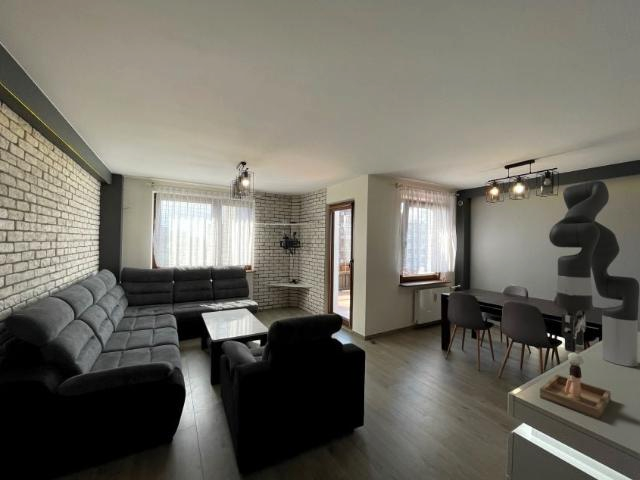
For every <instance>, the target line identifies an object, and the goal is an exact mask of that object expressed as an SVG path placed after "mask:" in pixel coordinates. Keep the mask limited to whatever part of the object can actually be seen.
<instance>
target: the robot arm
mask: <svg viewBox="0 0 640 480" xmlns="http://www.w3.org/2000/svg"><path fill="white" fill-rule="evenodd" d="M609 194H610V193H609V189H608V187H607V185H606V183H605V182H604V181H601V180H594V181H588V182H584V183H579V184H575V185H574V184H573V185H570V186H567V187H566V188H564V190H563V191H562V196H563V201H564V203H565V205H566V208H567V210H568V211H566V213H565V216H564V218H562V219H561V220H559V221H558V222H556V223H555V224H554V225H553V226H552V227H551V229H550V231H549V233H548V234H549V235H548V237H549V241H550V243H551V244H552V245H553V246H555V247H558V248H570V249H571V248H581V249H580V251H579V252H578V253H576V254H571V255H562V256H560V257H558V258H557V279H556V306H558V308H562V309H565V310H566V311H565V313H562V314H561V334H560V335H561V336H562V337H564V350H565V351H566V352H570V353H576V352H577V345H578V346H581V347H582V346H584V333H585V332H586V330H587V321H586V320H587V319H586V317H587V316H586V315H587V312H589V311H592V310H593V282H592V276H593V281H594V285H595V289H596V291H597V293H598V295H599V296H600V297H602V298H605V299H609V300H616V301H622V303H621V304H620V305H617V306H608V307H607V306H606V307H603V308H602V309H601V310H602V311H601V313H602V314H601V315H602V316H601V323H602V325H601V326H602V327H601V330H602V331H601V333H602V338H601V339H602V340H601V341H602V342H601V344H602V348H601V349H602V350H601V351H602V352H601V353H602V355H601V356H602V357H601V358H602V359H603V360H605V361H606V362H609V363H612V364H617V365H620V366H624V367H632V368H633V367H634V368H635V366H636V367H638V365H639V364H638V363H639V361H638V360H639V349H638V348H639V344H638V343H639V339H638V338H639V335H638V332H639V331H638V330H639V328H638V327H639V326H638V322H639V321H638V320H639V318H638V316H639V303H640V302H639V301H640V283H639V281H638V279H637V278H636V277H629V276H618V275H610V274H609V273H608V268H609V266H610V265H611V264H612V262H613V261H615V259H616V258H617V257H618V255H619V252H620V246H619V245H620V244H619V242H618V239H617V237H616V234H615V233H614V232H613V231H612V230H611V229H610V228H608V227H606V226H605V225H603V224H602V223H599V222H597V221H596V219H597V216H598V214H599V213H600V212H601V211H602V210H603V209H604V208H605V207H606V205H608V203H609V199H610V195H609ZM568 331H570V332H568Z"/></svg>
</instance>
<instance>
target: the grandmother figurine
mask: <svg viewBox="0 0 640 480" xmlns="http://www.w3.org/2000/svg"><path fill="white" fill-rule="evenodd" d="M567 358H568V363H569V364H570V366H569V376H568V377H567V378H568V381H567V384H566V388H565V392H566V393H569V394H568V395H567V397H568V398H571V399H574V400H577V401H580V398H582V396H581V395H580V394H581V386H580V382H581V378H582V377H583V375H582V369H581V367H580V365H582V364H584V362H585V361H584V359H583V357H582V356H581V355H579V354H578V353H576V352H570V353H568V355H567Z"/></svg>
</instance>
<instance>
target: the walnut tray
mask: <svg viewBox="0 0 640 480" xmlns="http://www.w3.org/2000/svg"><path fill="white" fill-rule="evenodd" d="M567 381H568V377H566V376H563V375H560V374H556V375H554V376H553V377H552V378H551V379H550V380H548V381H547V382H546V383H545V384H544V385H542V386H541V387H540V388H539V398H540V399H543V400H546V401H548V402H551V403H553V404H556V405H558V406H561V407H563V408H567V409H570V410H571V411H574V412H577V413H580V414H583V415H584V416H587V417H590V418H593V419H595V420H598V421H599V420H600V419H601V417H602V415H603V413H604V412H605V410H606V409H607V406H608V405H609V403H610V402H611V398H612V396H611V395H612V394H611V391H610V390H607V389H604V388H602V387H598V386H595V385H592V384H588V383H585V382H582V381H580V386H581V394H580V395H581V396H582V398H580V401H577V400H574V399H571V398H568V397H567V395H568V394H569V393H566V392H565V388H566V384H567Z"/></svg>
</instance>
